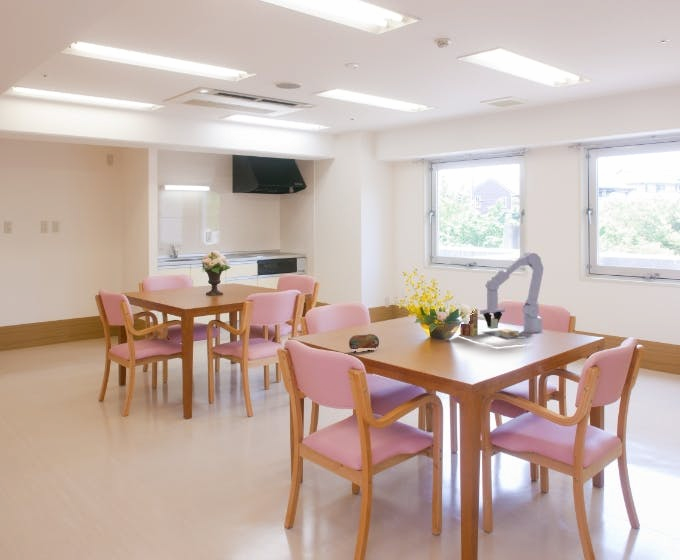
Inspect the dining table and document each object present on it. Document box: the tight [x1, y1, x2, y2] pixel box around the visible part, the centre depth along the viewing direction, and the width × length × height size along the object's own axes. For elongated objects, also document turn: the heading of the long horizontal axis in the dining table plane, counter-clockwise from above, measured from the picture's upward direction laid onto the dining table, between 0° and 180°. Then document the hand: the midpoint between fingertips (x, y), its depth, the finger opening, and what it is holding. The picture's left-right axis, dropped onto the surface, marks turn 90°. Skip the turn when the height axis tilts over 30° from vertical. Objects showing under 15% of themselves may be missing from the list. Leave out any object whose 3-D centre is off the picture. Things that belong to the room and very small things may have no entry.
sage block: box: [487, 317, 499, 330], centre depth 326 cm, size 4×4×5 cm
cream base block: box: [499, 328, 520, 338], centre depth 315 cm, size 7×7×3 cm
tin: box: [348, 333, 380, 350], centre depth 292 cm, size 15×3×8 cm, turn 105°
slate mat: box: [482, 329, 530, 341], centre depth 319 cm, size 14×25×1 cm, turn 17°
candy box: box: [459, 308, 479, 337], centre depth 321 cm, size 9×4×15 cm, turn 39°
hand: (492, 326), depth 326 cm, fingers closed on sage block, 4 cm apart
